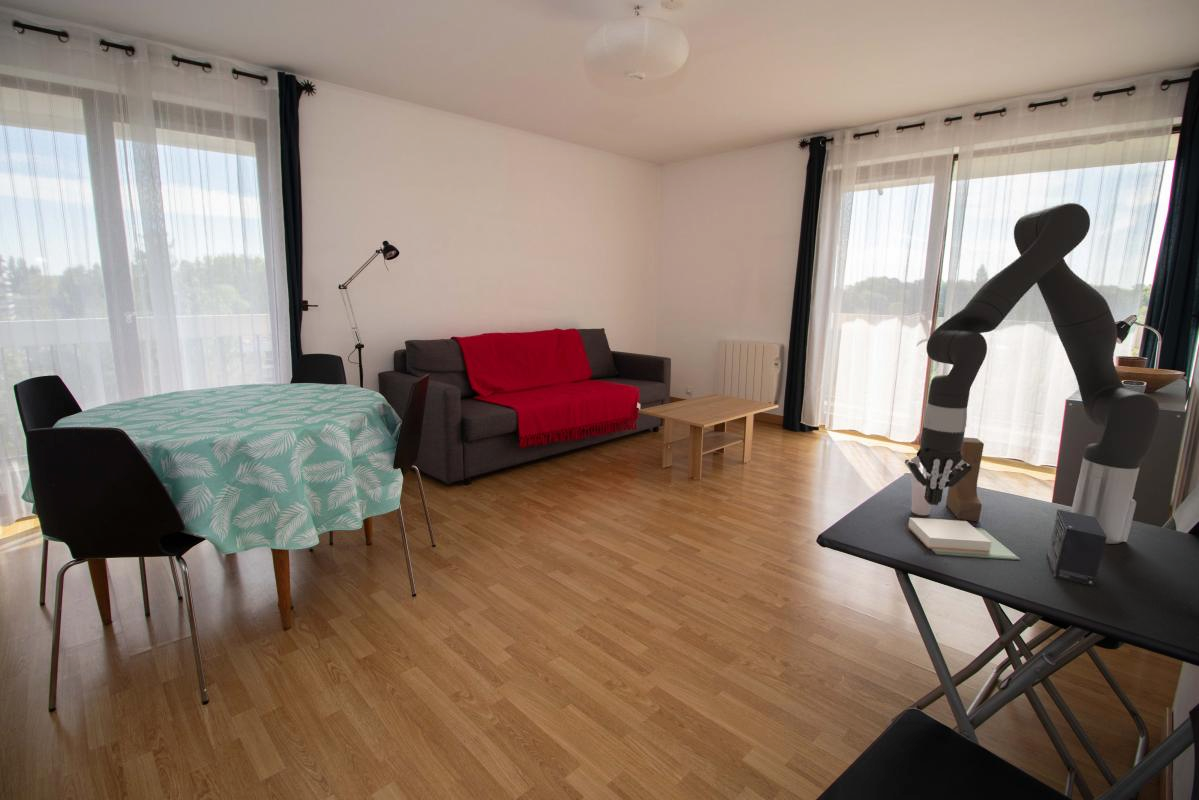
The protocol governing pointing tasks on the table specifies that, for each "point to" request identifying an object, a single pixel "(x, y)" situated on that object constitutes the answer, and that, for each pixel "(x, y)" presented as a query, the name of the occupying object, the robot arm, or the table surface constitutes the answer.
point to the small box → (1076, 547)
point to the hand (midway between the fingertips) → (931, 503)
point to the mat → (995, 552)
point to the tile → (949, 535)
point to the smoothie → (919, 497)
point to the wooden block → (967, 484)
